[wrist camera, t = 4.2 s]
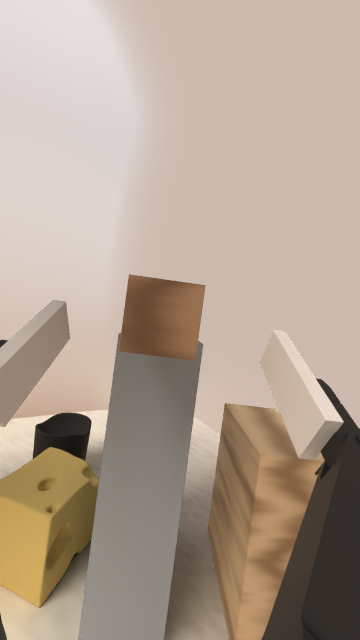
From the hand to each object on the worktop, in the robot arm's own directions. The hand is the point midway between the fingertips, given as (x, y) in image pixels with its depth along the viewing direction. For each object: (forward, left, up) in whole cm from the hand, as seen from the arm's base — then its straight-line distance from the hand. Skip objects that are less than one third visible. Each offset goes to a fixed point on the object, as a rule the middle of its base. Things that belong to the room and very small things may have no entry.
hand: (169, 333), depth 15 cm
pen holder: (-17, +30, -31) cm, 46 cm away
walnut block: (-1, +10, -1) cm, 10 cm away
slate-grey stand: (-1, +14, -31) cm, 34 cm away
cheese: (-13, +16, -31) cm, 37 cm away
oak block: (+14, +14, -31) cm, 37 cm away
